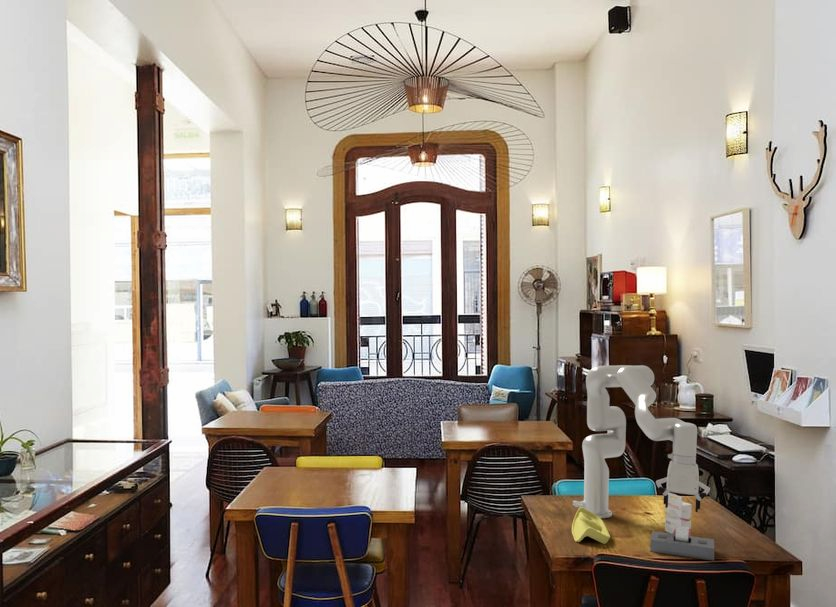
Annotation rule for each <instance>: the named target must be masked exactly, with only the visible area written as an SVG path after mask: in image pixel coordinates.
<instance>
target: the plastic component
mask: <svg viewBox="0 0 836 607" xmlns="http://www.w3.org/2000/svg"><path fill="white" fill-rule="evenodd" d="M571 534H572V537H573V539H574V542H577V543H580V542H581V541H583V539H584V538H585V537H589V538H591V539H593V540H594V541H597V542H599V543H601V544H604V545H606V544H607V543H608V542H609V540H610V538H611V535H610V532H609V531H608V528H607V527H606V524H605V523H604V521H603V519H602V518H599V517H598V516H597V515H595V514H594V513H592V512H590V511H589V510H587V509H585V508H583V507H578V509H577V511H576V513H575V515H574V518H573V521H572V524H571Z"/></svg>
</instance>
